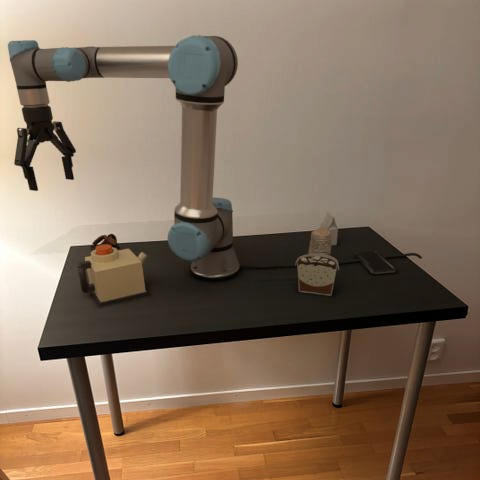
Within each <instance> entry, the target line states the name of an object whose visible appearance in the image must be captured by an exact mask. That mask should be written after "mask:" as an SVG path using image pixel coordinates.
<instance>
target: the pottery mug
mask: <svg viewBox="0 0 480 480" xmlns="http://www.w3.org/2000/svg"><path fill="white" fill-rule="evenodd" d="M104 244H108V245H111V246H112V247H113V248H116V249H117V250H118V251H119V250H122V248H121V247H120V245H119V243H118V239H117V236H116V235H115V234H114V233H109V234H108V235H107V234H102V235H100V236H98V237H97V238H96V239H95V240H93V241H92V242H91V244H90V246H89V250H90V251H91V252H92V251H93V250H95V249H96V247H97V246H99V245H104Z"/></svg>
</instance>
